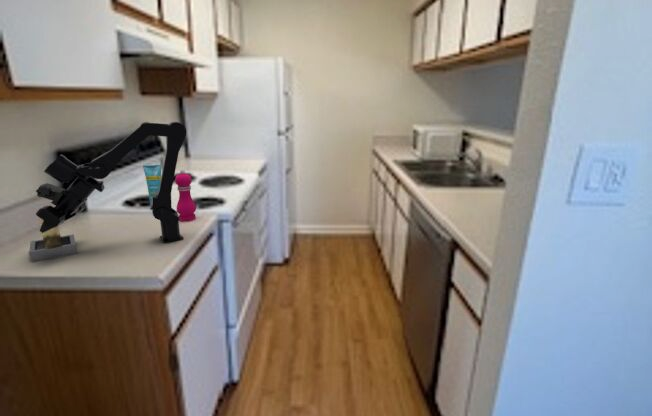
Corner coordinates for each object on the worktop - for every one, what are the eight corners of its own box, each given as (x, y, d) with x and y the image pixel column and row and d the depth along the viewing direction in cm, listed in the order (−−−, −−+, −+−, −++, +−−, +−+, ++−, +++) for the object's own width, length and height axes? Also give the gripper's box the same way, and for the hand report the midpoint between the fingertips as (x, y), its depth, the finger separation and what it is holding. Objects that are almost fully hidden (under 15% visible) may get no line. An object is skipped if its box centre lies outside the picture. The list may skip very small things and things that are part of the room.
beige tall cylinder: (63, 249, 119) (54, 209, 115) (45, 252, 116) (36, 211, 113) (62, 245, 122) (54, 206, 119) (45, 248, 120) (37, 208, 116)
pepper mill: (184, 223, 148) (179, 171, 142) (174, 219, 152) (168, 169, 147) (200, 218, 153) (196, 169, 148) (190, 215, 157) (185, 167, 152)
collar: (77, 253, 118) (75, 244, 117) (31, 262, 112) (29, 252, 111) (75, 242, 127) (73, 234, 126) (32, 250, 121) (30, 241, 120)
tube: (147, 210, 166) (141, 166, 161) (149, 207, 171) (143, 164, 165) (165, 209, 168) (160, 165, 163) (167, 206, 172) (162, 163, 167)
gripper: (68, 169, 123) (37, 204, 124) (36, 180, 105) (0, 221, 106) (99, 192, 126) (68, 226, 127) (73, 207, 108) (38, 246, 109)
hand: (45, 229), depth 117 cm, fingers closed on beige tall cylinder, 4 cm apart
